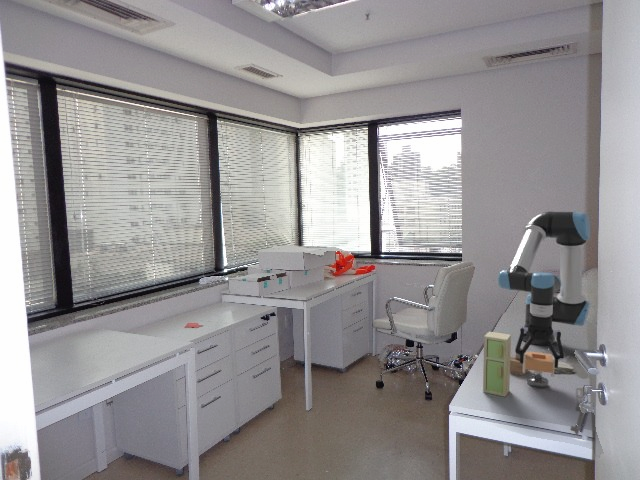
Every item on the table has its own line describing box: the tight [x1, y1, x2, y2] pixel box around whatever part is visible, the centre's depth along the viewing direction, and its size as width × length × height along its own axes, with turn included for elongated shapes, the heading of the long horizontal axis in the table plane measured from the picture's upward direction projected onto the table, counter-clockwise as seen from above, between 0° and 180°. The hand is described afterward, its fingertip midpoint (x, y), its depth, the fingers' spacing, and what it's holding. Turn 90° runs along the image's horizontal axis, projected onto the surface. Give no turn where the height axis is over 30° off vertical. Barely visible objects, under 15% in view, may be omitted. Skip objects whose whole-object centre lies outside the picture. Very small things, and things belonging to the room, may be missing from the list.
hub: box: [526, 370, 549, 390], centre depth 173 cm, size 7×7×8 cm
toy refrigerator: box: [482, 331, 512, 398], centre depth 166 cm, size 8×7×21 cm
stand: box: [510, 347, 529, 376], centre depth 186 cm, size 6×6×10 cm
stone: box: [554, 360, 575, 374], centre depth 191 cm, size 15×11×3 cm
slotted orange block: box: [525, 350, 553, 374], centre depth 173 cm, size 9×9×4 cm
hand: (538, 373), depth 173 cm, fingers closed on slotted orange block, 9 cm apart
